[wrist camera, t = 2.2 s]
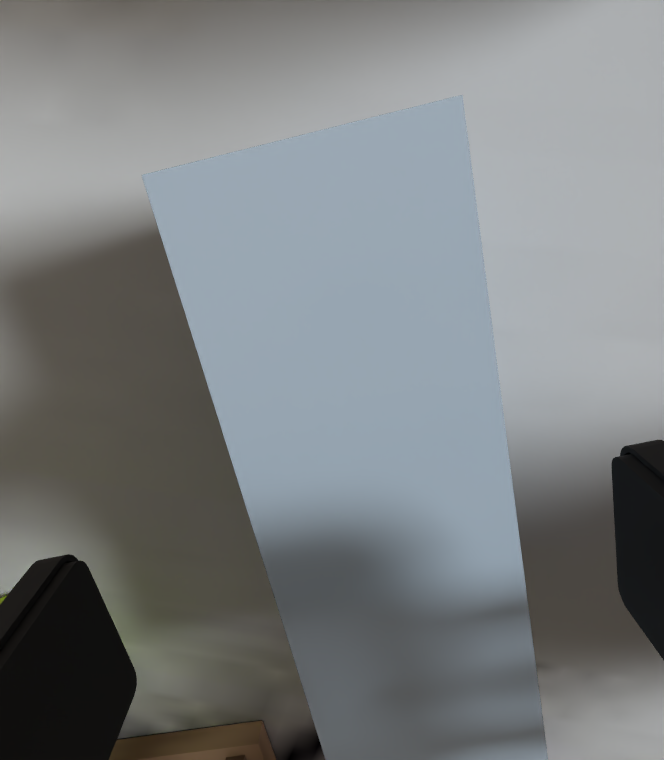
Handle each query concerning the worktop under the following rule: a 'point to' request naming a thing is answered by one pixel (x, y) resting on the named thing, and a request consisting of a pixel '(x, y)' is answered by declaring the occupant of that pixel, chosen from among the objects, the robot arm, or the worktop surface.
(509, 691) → the pale blue block
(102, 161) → the worktop surface
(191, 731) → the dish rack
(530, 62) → the worktop surface
